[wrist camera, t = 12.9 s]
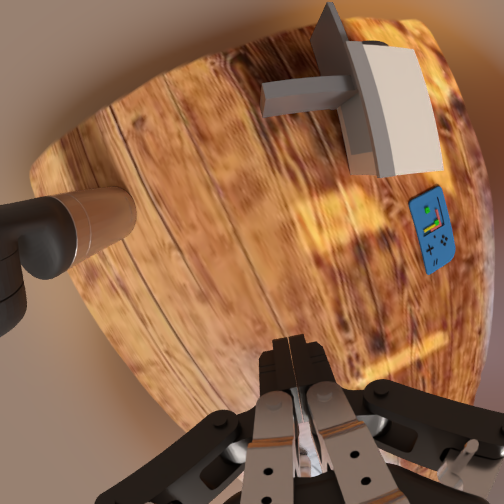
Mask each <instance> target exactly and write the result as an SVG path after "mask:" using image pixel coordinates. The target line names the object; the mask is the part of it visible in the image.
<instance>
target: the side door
mask: <svg viewBox="0 0 504 504" xmlns="http://www.w3.org/2000/svg"><path fill="white" fill-rule="evenodd" d="M345 41H349V40H348V37H347V35H346V32H345V30H344V27H343V25H342V22H341V20H340V17H339V15H338V13H337V11H336V8H335V6H334V4H333V2H327V3H326V5H325V7H324V10H323V12H322V14H321V16H320V19H319V21H318V23H317V25H316V27H315V30H314V32H313V34H312V36H311V39H310V42H311V45H312V48H313V51H314V54H315V58H316V61H317V64H318V67H319V71H320V74H321V77H309V78H299V79H289V80H281V81H274V82H267V83H262V87H261V98H260V109H261V113H262V117H263V118H265V117H271V116H277V115H284V114H291V113H298V112H306V111H315V110H325V109H330V110H335V109H337V108H338V107H339V106H341V105H342V104H343V103H345V102H346V101H347V100H349V99H350V98H351V97H352V96H354V95H355V94H356V93H358V92H359V91H358V87H357V84H356V80H355V77H354V74H353V70H352V67H351V64H350V61H349V58H348V55H347V52H346V49H345V46H344V43H345Z"/></svg>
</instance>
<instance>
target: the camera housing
mask: <svg viewBox="0 0 504 504" xmlns="http://www.w3.org/2000/svg"><path fill="white" fill-rule="evenodd" d="M344 46H345V49H346V52H347V55H348V58H349V61H350V64H351V67H352V70H353V74H354V77H355V80H356V84H357V87H358V91H359V92H358V93H356V94H355V95H354V96H352V97H351V98H350V99H349V100H347V101H346V102H345V103H343V104H342V105H341V106H339V107H338V108H337V112H338V116H339V120H340V124H341V129H342V133H343V138H344V143H345V148H346V153H347V158H348V163H349V169H350V175H377V178H383V177H391V176H396V175H403V174H411V173H421V172H431V171H441V170H444V169H443V162H442V155H441V149H440V143H439V137H438V132H437V127H436V123H435V118H434V114H433V110H432V106H431V102H430V98H429V95H428V91H427V88H426V84H425V81H424V78H423V75H422V71H421V68H420V66H419V63H418V60H417V57H416V54H415V52H414V49H407V48H399V47H390V46H388V45H387V44H386V43H384V42H380V41H362V42H358V41H345V43H344Z"/></svg>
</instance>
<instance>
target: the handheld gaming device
mask: <svg viewBox="0 0 504 504" xmlns="http://www.w3.org/2000/svg"><path fill="white" fill-rule="evenodd" d="M409 209H410V212H411V215H412V219H413V222H414V225H415V229H416V233H417V236H418V240H419V244H420V248H421V252H422V256H423V261H424V265H425V270H426V274H428V275H430V274H431V273H433V272H434V271H436V270H438V269H439V268H441V267H442V266H444V265H445V264H447V263H448V262H450V261H451V260H452V258H453V256H454V254H455V243H454V238H453V233H452V228H451V223H450V219H449V214H448V210H447V206H446V202H445V199H444V195H443V191H442V188H441V187H440V186H437V187H435V188H433V189H431V190H429V191H427V192H425V193H424V194H422V195H420V196H418V197H416V198H414V199H412V200H410V201H409Z"/></svg>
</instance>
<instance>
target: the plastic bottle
mask: <svg viewBox="0 0 504 504" xmlns="http://www.w3.org/2000/svg"><path fill="white" fill-rule="evenodd" d="M300 473H301V477H311V461H310V458H309V457H308V456H306V455H303V454H300Z"/></svg>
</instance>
